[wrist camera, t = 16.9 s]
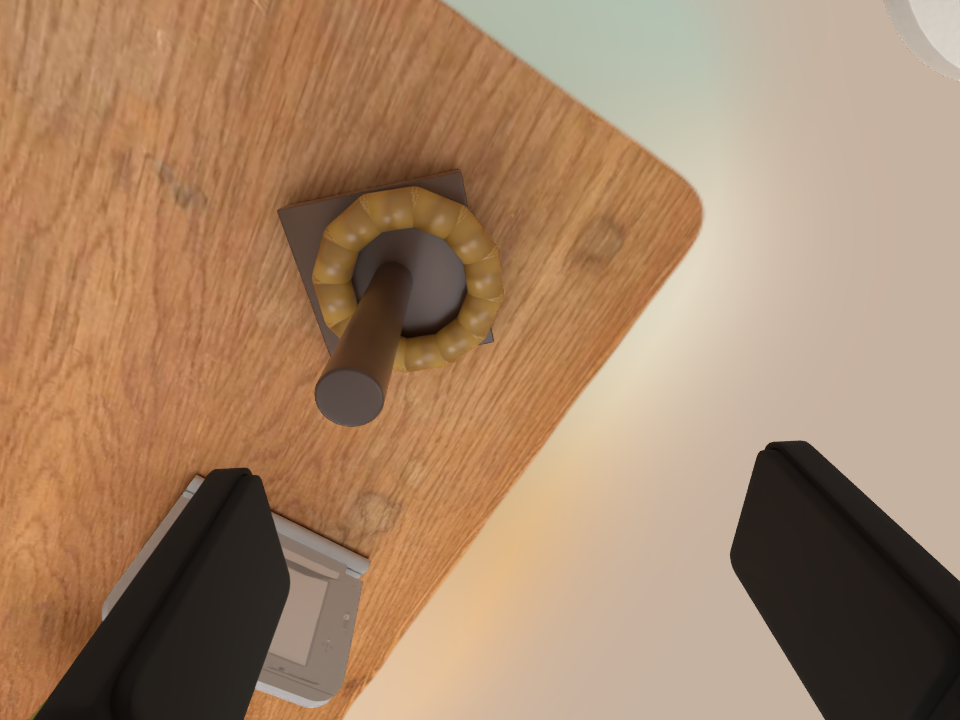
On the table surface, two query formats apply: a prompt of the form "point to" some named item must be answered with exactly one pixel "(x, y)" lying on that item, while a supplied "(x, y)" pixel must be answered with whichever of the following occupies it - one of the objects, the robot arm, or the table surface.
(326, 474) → the table surface
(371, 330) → the stand
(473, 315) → the ring
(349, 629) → the handheld gaming console
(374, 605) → the table surface
